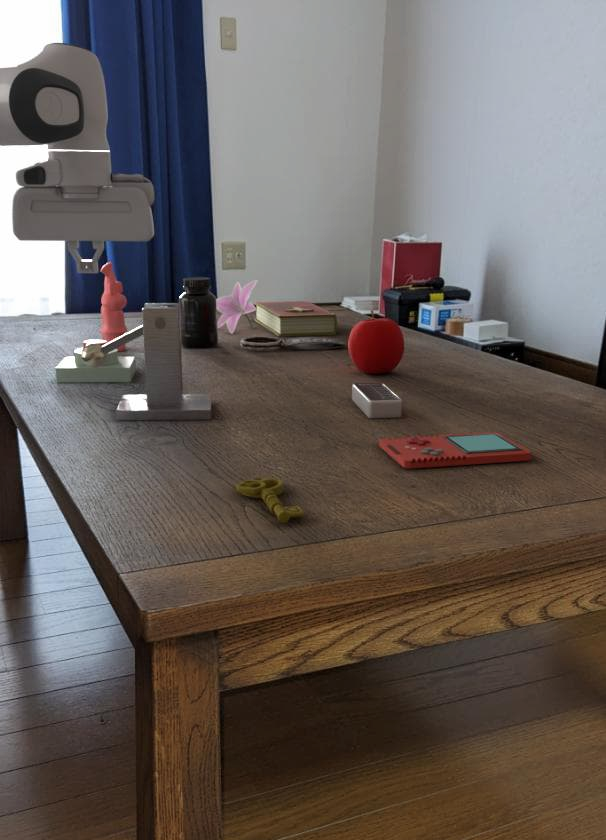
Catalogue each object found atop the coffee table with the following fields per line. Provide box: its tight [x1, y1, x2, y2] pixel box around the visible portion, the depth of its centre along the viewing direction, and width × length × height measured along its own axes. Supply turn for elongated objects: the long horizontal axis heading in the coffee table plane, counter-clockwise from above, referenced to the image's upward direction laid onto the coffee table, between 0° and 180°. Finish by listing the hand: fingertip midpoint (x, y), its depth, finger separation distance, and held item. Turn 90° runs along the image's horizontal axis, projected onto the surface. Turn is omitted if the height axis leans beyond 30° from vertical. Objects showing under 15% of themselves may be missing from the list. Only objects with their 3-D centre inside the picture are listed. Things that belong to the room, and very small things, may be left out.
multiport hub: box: [351, 382, 403, 419], centre depth 122 cm, size 4×11×2 cm, turn 9°
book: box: [253, 300, 338, 337], centre depth 186 cm, size 12×21×4 cm, turn 16°
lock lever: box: [81, 306, 168, 368], centre depth 116 cm, size 13×3×3 cm, turn 95°
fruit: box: [347, 309, 405, 375], centre depth 143 cm, size 9×9×10 cm
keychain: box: [239, 336, 347, 352], centre depth 164 cm, size 8×19×2 cm, turn 99°
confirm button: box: [82, 339, 107, 347], centre depth 138 cm, size 4×4×2 cm
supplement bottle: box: [178, 276, 219, 349], centre depth 164 cm, size 7×7×12 cm
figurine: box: [99, 261, 129, 352], centre depth 158 cm, size 5×5×15 cm
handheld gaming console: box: [379, 431, 532, 469], centre depth 103 cm, size 9×1×15 cm
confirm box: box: [55, 347, 137, 383], centre depth 139 cm, size 11×9×4 cm
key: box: [235, 477, 305, 524], centre depth 86 cm, size 12×1×5 cm
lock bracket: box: [115, 302, 213, 421], centre depth 117 cm, size 12×9×14 cm
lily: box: [216, 279, 259, 335], centre depth 182 cm, size 12×12×10 cm
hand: (88, 272), depth 135 cm, fingers closed
